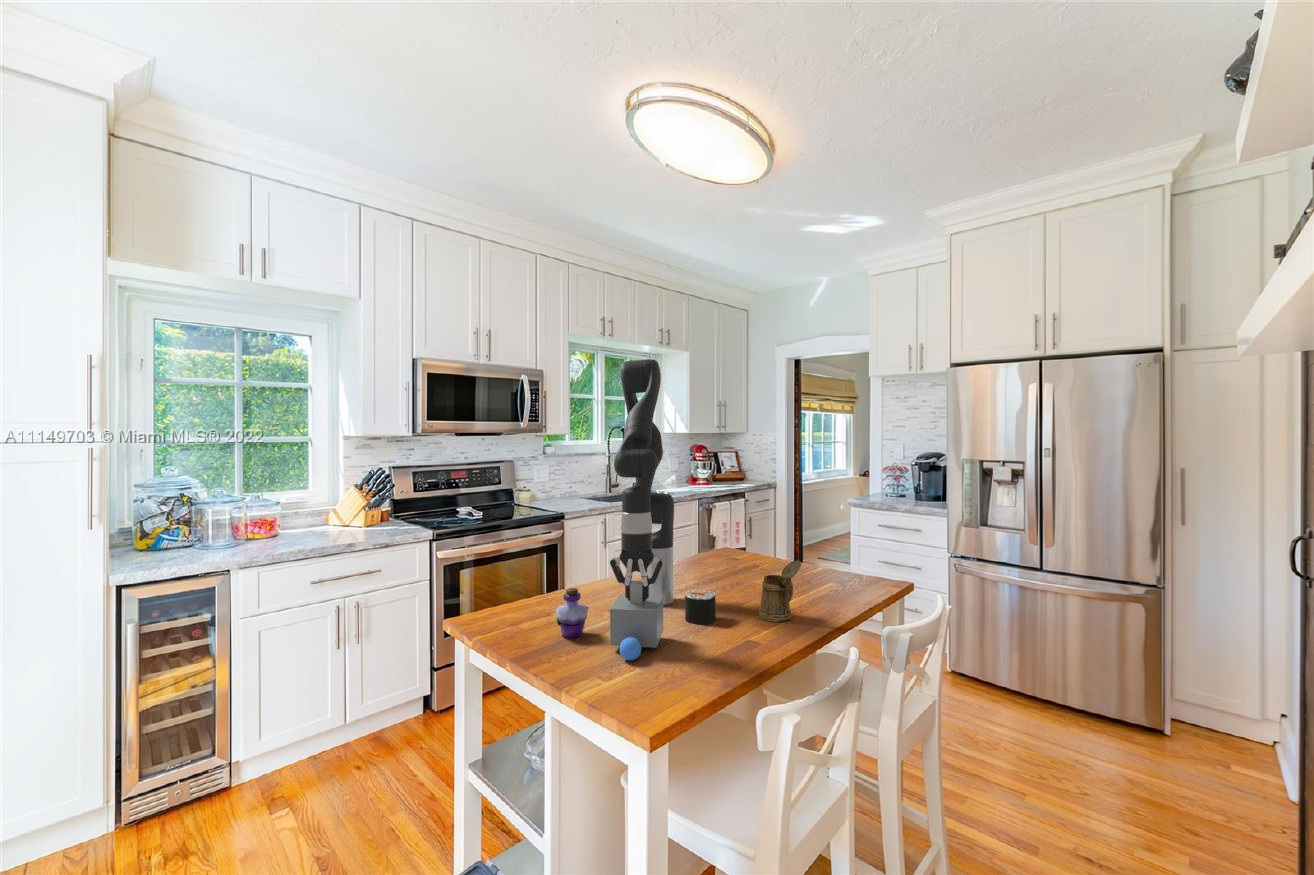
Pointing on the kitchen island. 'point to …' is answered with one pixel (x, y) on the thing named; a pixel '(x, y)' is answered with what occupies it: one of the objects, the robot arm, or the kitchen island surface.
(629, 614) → the grey block
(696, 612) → the sushi
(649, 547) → the robot arm
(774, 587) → the wooden mug
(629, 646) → the ball
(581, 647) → the kitchen island surface
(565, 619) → the potion bottle
